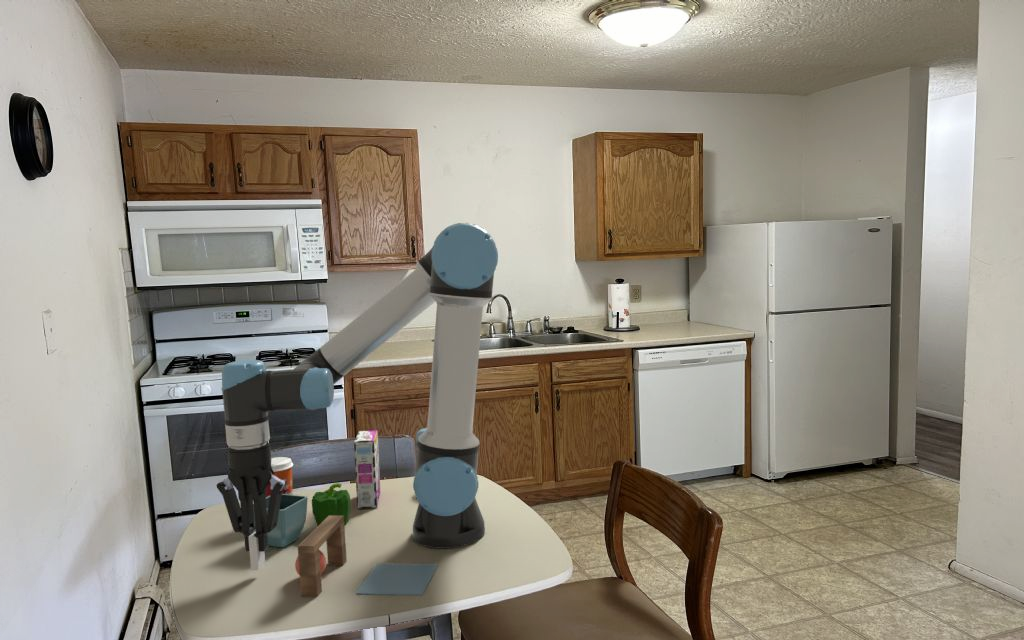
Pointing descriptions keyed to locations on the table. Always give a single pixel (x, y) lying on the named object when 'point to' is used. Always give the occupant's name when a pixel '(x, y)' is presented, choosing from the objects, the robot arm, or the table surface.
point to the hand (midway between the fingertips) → (258, 567)
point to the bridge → (310, 557)
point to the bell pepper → (331, 504)
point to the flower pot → (288, 520)
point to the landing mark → (397, 579)
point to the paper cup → (282, 473)
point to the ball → (322, 563)
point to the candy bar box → (367, 469)
